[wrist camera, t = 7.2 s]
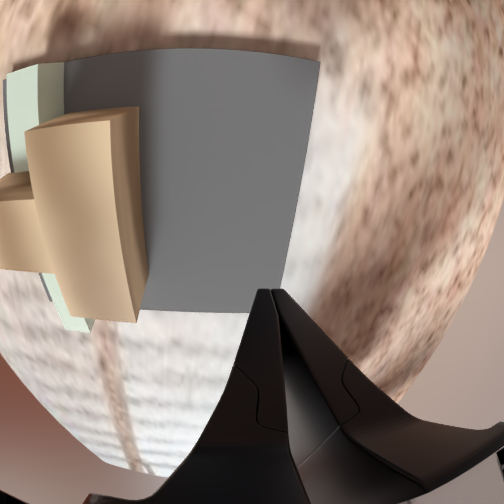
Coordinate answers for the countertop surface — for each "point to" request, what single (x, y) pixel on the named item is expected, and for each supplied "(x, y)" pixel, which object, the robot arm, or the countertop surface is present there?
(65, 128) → the tee block
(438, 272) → the countertop surface
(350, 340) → the countertop surface
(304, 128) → the mat
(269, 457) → the robot arm
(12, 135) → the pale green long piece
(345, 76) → the countertop surface
